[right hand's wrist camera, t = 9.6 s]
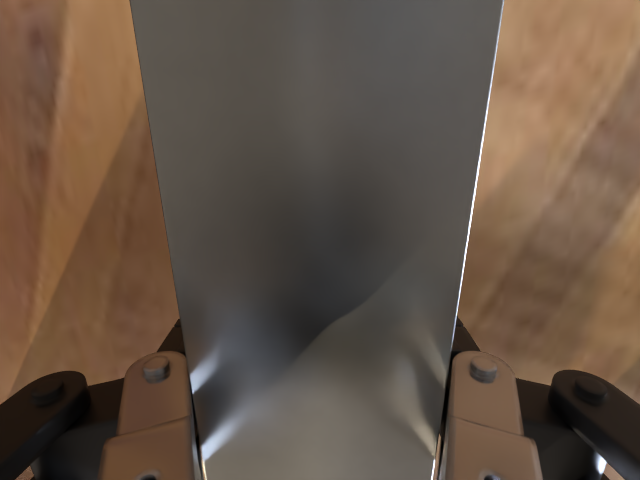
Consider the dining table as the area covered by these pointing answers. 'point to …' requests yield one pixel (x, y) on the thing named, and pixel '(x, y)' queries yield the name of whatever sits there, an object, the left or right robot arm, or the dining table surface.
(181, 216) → the bar
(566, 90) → the dining table surface
